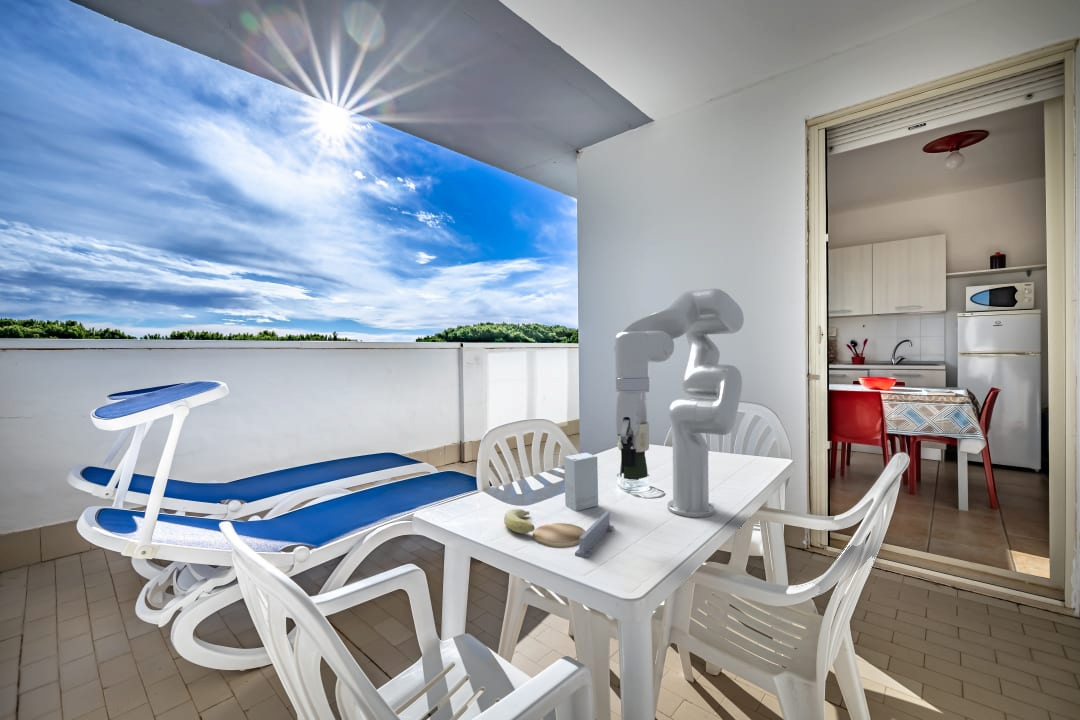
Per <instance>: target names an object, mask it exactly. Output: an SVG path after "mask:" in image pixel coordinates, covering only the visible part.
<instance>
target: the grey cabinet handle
mask: <svg viewBox="0 0 1080 720" xmlns="http://www.w3.org/2000/svg"><path fill="white" fill-rule="evenodd" d="M610 515H611V513H610V511H605V512H604V513H603V514H601V516H599V518H598V519H596V520H595V522H594V523H592V525H590V527H588V528H587V529H586V530H585V533H584V534H583V535H582V536H581V537H580V538H579V544H578V549H577V550H576V551H575V552H574V556H576V557H582V558H587V559H588V558H589V557H590V556H591V555H592V551H593V550H591V549H592V548H593V547H594V546H595V545H596V544H597V543H598V542H599V541H600V539H601V538H602V537H603V536H604V535H605V534H606V533H607V532H612V531H613V530H614V528H615V526H614V525H611V522H610V518H611V517H610Z"/></svg>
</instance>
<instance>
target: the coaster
mask: <svg viewBox="0 0 1080 720" xmlns="http://www.w3.org/2000/svg"><path fill="white" fill-rule="evenodd" d="M585 532H586V530H585V529H584V528H583V527H580V526H578V525H575V524H572V523H563V522H561V523H559V522H556V523H548V524H544V525H540V526H539V527H537V528H535V529H534V530H533V531H532V537H533V540H534V541H535V542H536V543H538V544H540V545H542V546H545V547H551V548H570V547H573V546H577V545H579V538H580V537H581V536H582V535H583V534H584V533H585Z"/></svg>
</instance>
